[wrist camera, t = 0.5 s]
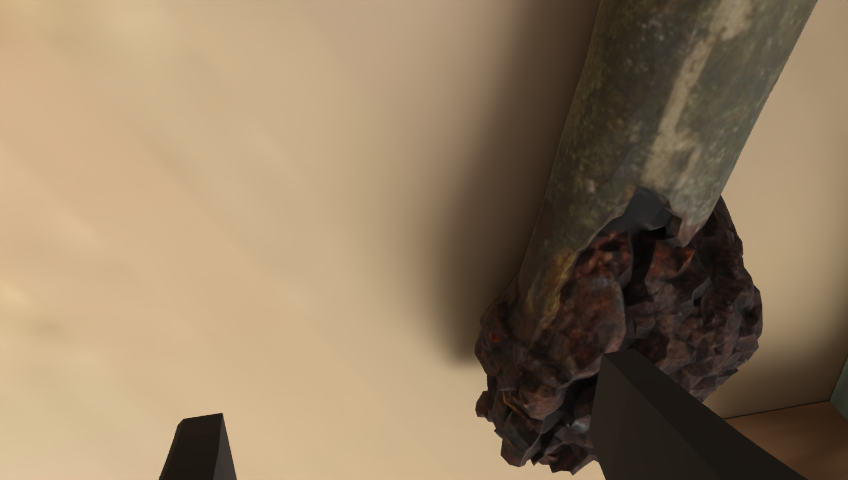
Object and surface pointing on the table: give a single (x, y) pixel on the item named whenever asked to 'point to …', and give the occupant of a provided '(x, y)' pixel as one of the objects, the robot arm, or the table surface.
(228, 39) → the table surface
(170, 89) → the table surface
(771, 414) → the dock
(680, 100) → the metal pipe
